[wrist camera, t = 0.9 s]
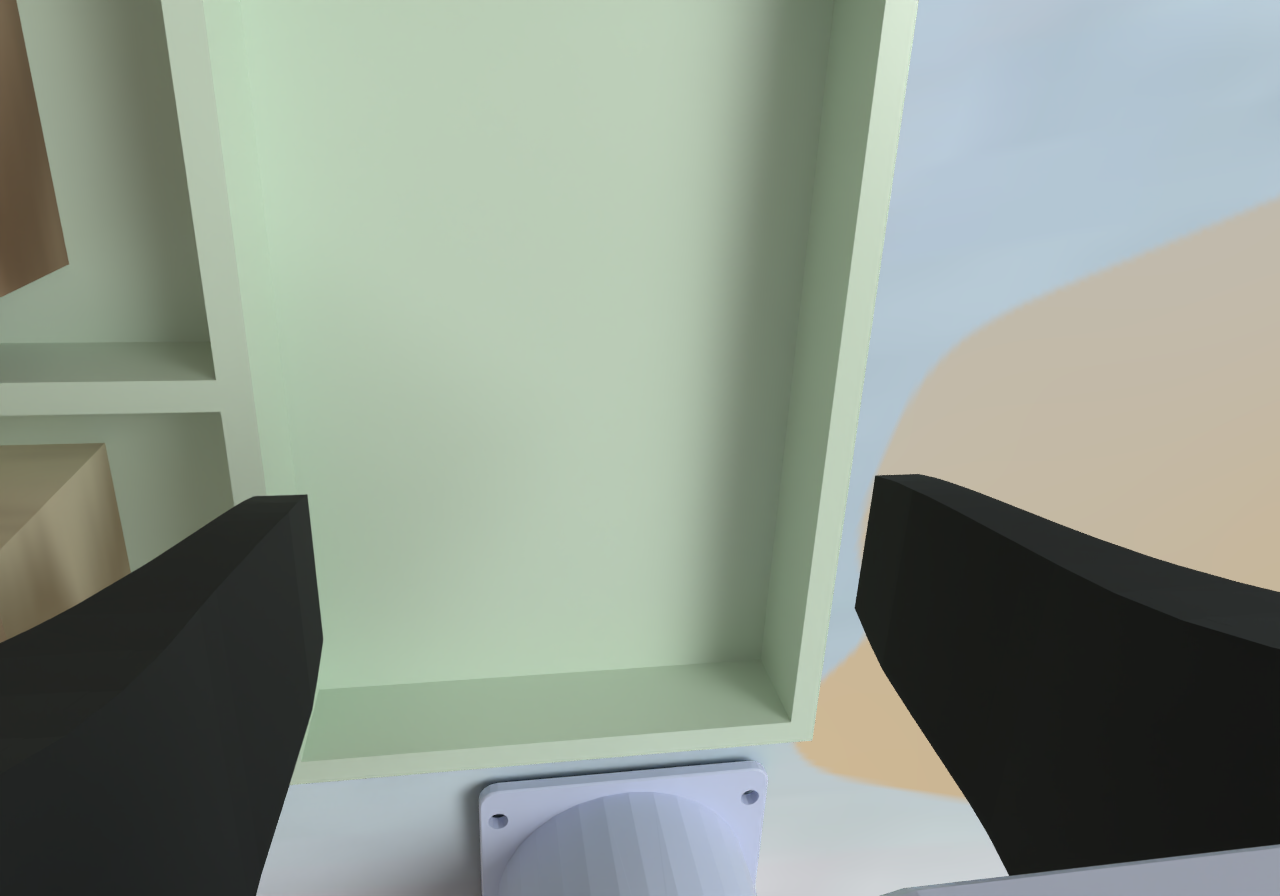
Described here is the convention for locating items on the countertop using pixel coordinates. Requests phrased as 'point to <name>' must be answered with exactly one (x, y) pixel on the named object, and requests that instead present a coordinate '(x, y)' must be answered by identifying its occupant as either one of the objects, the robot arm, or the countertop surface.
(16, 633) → the plain cube
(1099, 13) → the countertop surface
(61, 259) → the brown cube
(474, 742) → the organiser
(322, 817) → the countertop surface
